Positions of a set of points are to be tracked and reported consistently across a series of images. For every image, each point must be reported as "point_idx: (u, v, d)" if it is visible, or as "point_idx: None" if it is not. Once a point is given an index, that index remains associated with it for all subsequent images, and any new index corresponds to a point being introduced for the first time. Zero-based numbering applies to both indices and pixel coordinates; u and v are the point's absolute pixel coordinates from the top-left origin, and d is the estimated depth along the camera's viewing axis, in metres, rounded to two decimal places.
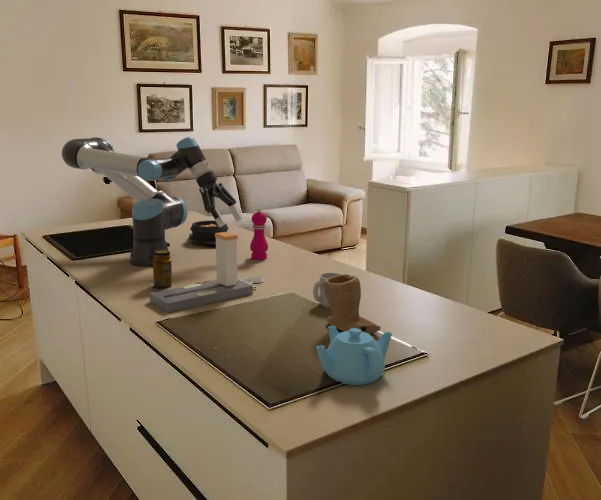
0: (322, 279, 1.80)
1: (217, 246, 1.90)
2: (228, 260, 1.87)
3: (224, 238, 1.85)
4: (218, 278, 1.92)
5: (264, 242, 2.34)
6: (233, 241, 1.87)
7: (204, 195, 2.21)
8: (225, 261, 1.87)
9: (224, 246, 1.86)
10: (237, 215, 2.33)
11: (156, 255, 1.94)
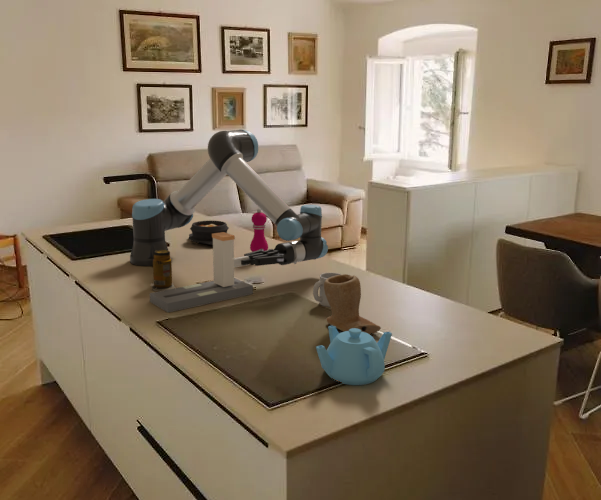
0: (322, 279, 1.80)
1: (214, 246, 1.89)
2: (225, 261, 1.87)
3: (221, 238, 1.84)
4: (215, 279, 1.91)
5: (264, 242, 2.34)
6: (230, 241, 1.86)
7: (273, 260, 1.95)
8: (222, 262, 1.86)
9: (221, 246, 1.85)
10: None
11: (156, 255, 1.94)
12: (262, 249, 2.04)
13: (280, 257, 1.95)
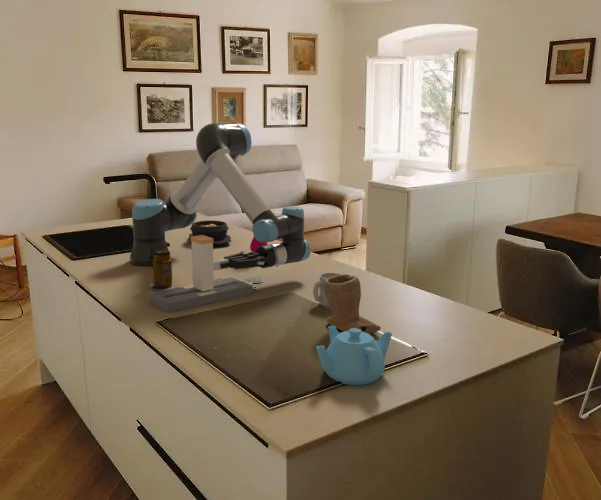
0: (322, 279, 1.80)
1: (193, 250, 1.84)
2: (204, 265, 1.82)
3: (199, 242, 1.80)
4: (194, 283, 1.87)
5: None
6: (209, 245, 1.82)
7: (253, 264, 1.91)
8: (201, 265, 1.82)
9: (200, 250, 1.81)
10: None
11: (156, 255, 1.94)
12: (243, 252, 2.00)
13: (260, 260, 1.91)
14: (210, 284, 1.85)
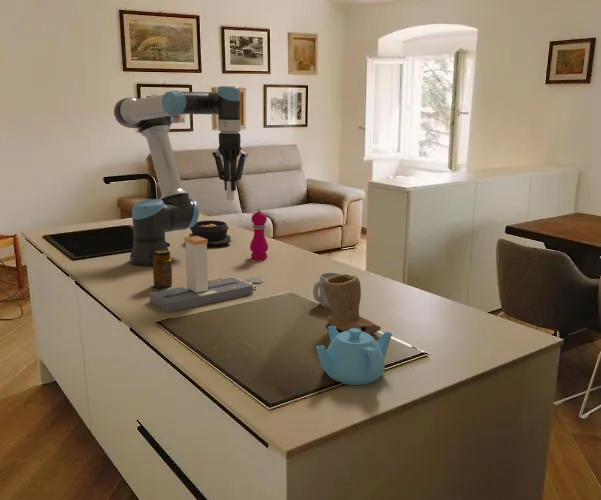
0: (322, 279, 1.80)
1: (187, 251, 1.83)
2: (198, 266, 1.81)
3: (193, 243, 1.78)
4: (188, 284, 1.85)
5: (264, 242, 2.34)
6: (203, 246, 1.80)
7: None
8: (195, 266, 1.80)
9: (194, 251, 1.79)
10: None
11: (156, 255, 1.94)
12: None
13: None
14: (204, 285, 1.83)
